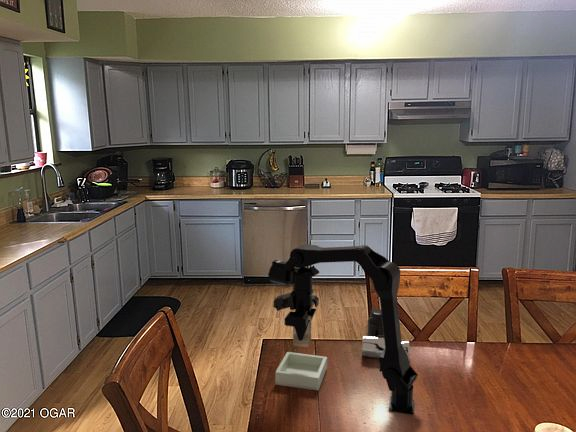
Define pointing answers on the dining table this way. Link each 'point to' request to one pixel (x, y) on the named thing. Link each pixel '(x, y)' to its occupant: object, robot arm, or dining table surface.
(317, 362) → the bin
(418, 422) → the dining table surface
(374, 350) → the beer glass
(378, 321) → the supplement bottle
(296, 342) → the birch block
